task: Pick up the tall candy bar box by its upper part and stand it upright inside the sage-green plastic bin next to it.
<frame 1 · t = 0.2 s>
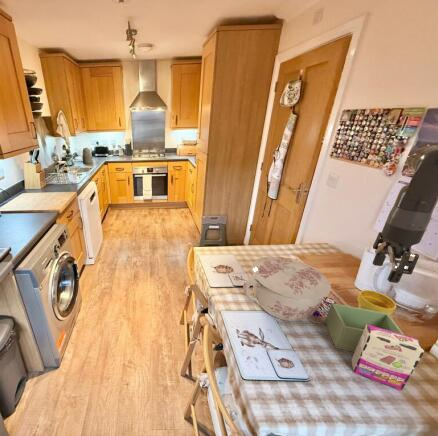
hand: (384, 272, 68), 31 cm above the table, tool pointing down, fingers open, 8 cm apart
bin: (357, 340, 82), on the table
flower pot: (368, 318, 91), on the table
chamber pot: (279, 306, 98), on the table
candy bar box: (373, 375, 72), on the table
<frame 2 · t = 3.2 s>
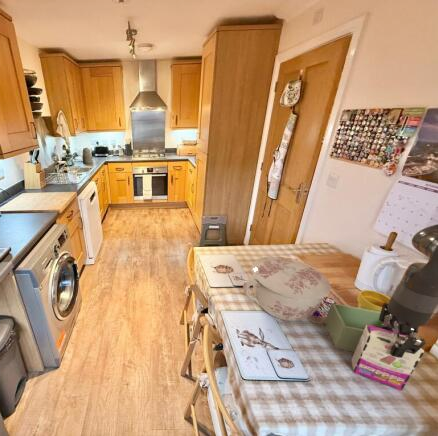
hand: (389, 346, 67), 12 cm above the table, tool pointing down, fingers closed on candy bar box, 5 cm apart
candy bar box: (373, 375, 72), on the table, touching gripper
everything else where it was.
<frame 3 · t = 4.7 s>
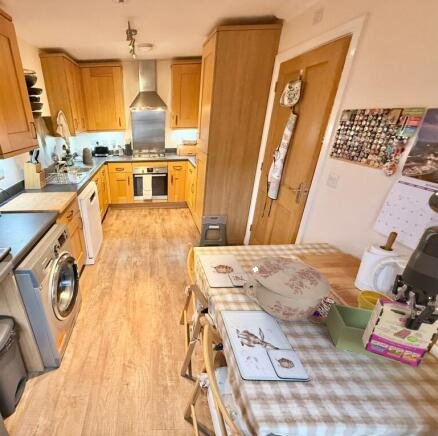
hand: (403, 319, 63), 23 cm above the table, tool pointing down, fingers closed on candy bar box, 5 cm apart
candy bar box: (386, 352, 67), point 10 cm above the table, touching gripper
everything else where it was.
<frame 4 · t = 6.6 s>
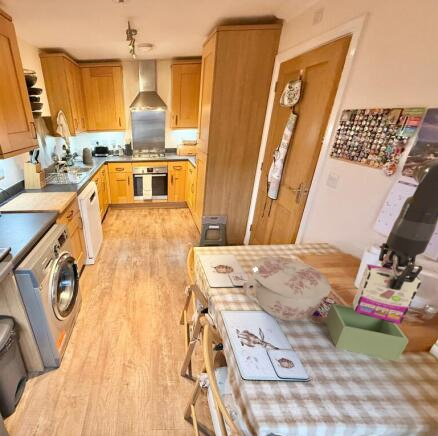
hand: (388, 282, 70), 27 cm above the table, tool pointing down, fingers closed on candy bar box, 5 cm apart
candy bar box: (374, 313, 75), point 14 cm above the table, touching gripper
everything else where it was.
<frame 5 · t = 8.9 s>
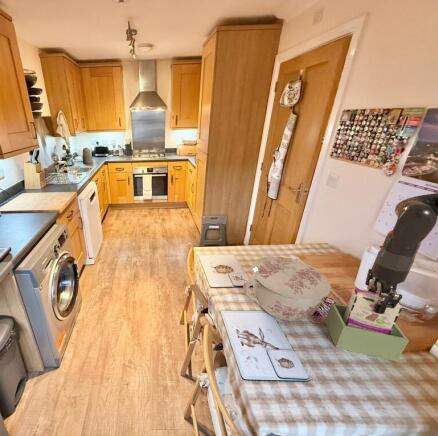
hand: (373, 306, 76), 16 cm above the table, tool pointing down, fingers closed on candy bar box, 5 cm apart
candy bar box: (361, 333, 81), point 3 cm above the table, touching gripper
everything else where it was.
when the fingers open (13 cm above the table, at t = 10.3 s): candy bar box stays where it is, resting on bin.
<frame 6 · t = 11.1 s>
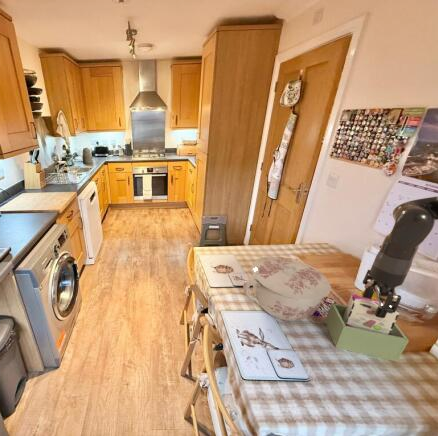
hand: (372, 307, 76), 15 cm above the table, tool pointing down, fingers open, 8 cm apart
candy bar box: (358, 339, 82), point 1 cm above the table, touching bin
everything else where it was.
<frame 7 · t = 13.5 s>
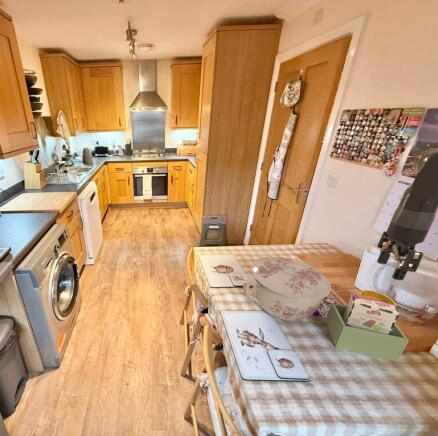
hand: (388, 270, 71), 30 cm above the table, tool pointing down, fingers open, 8 cm apart
nothing on the table moved.
at the end: candy bar box inside the target area in the bin (0.1 cm from its centre), point 0.6 cm above the bin's base; candy bar box tilted 0°; the gripper is holding nothing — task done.
